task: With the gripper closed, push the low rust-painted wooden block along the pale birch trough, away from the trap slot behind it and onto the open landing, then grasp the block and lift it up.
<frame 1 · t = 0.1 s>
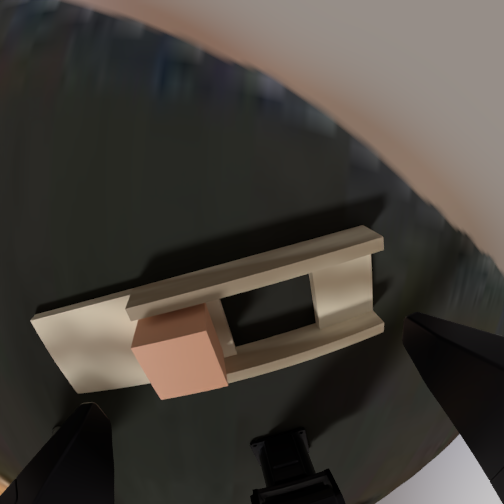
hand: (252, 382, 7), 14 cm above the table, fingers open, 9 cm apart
trap trough: (200, 322, 23), on the table
block: (182, 334, 22), point 1 cm above the table, touching trap trough
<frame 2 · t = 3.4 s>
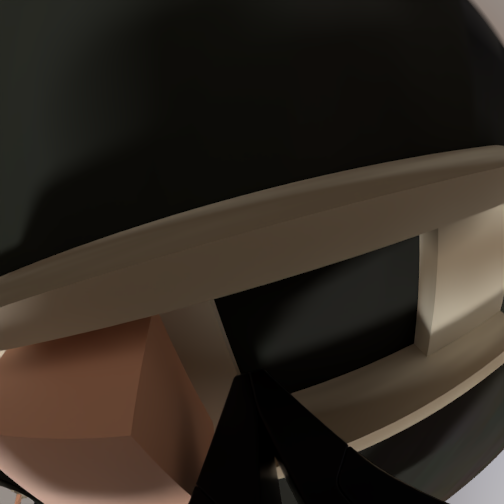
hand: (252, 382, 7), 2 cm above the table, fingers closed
trap trough: (169, 357, 9), on the table
block: (113, 387, 8), point 1 cm above the table, touching gripper, trap trough
beer glass: (19, 494, 12), on the table
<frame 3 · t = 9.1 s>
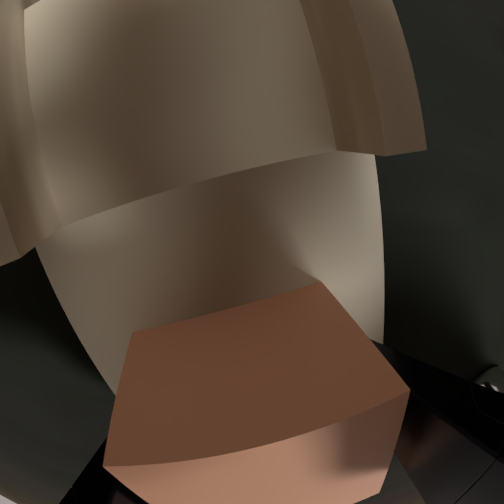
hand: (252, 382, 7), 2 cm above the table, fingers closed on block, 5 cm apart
trap trough: (159, 30, 6), on the table
block: (248, 378, 8), point 1 cm above the table, touching gripper
beer glass: (468, 399, 15), on the table
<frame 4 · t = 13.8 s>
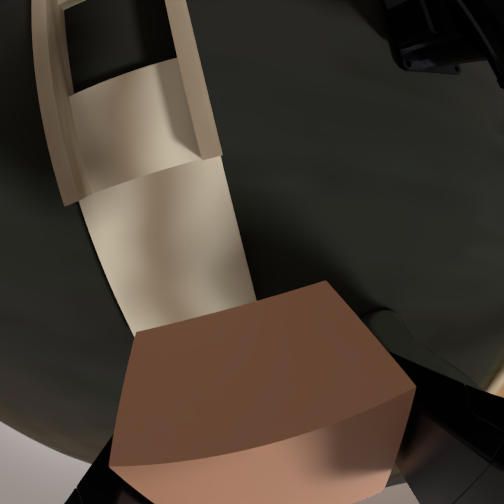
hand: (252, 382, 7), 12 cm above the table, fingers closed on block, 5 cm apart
trap trough: (131, 109, 15), on the table
block: (252, 377, 8), point 11 cm above the table, touching gripper
beer glass: (371, 338, 24), on the table
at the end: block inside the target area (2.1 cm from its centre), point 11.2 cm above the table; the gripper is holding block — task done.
